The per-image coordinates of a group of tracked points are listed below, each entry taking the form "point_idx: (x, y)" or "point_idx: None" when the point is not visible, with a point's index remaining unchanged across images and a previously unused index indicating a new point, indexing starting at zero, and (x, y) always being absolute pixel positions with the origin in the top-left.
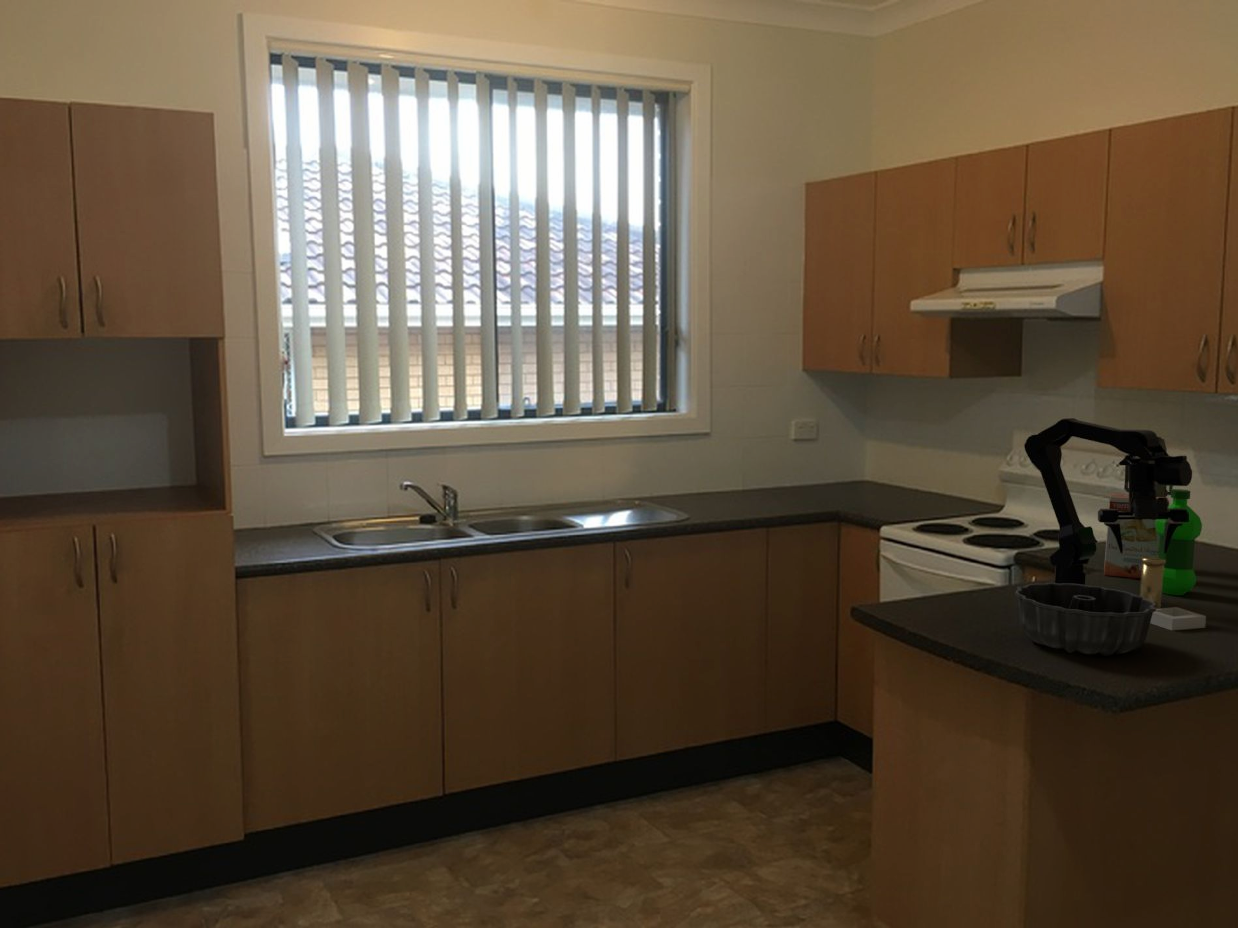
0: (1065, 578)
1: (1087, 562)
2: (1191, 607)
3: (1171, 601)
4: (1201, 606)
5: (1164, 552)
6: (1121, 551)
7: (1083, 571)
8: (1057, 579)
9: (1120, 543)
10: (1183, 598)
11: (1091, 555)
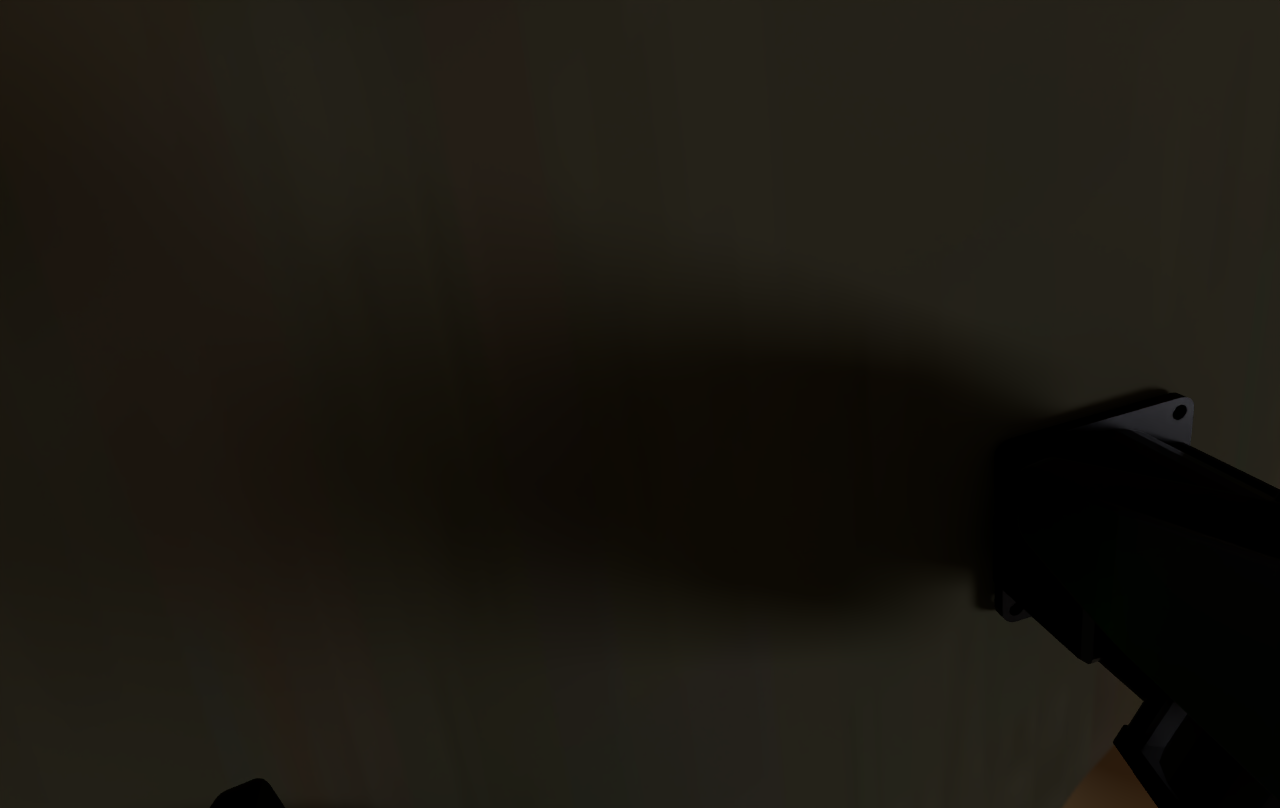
0: (1198, 468)
1: (1129, 741)
2: (111, 539)
3: (335, 646)
4: (49, 635)
5: (254, 779)
6: (1058, 465)
7: (1102, 633)
8: (1230, 473)
9: (1230, 523)
10: None
11: (1189, 742)
